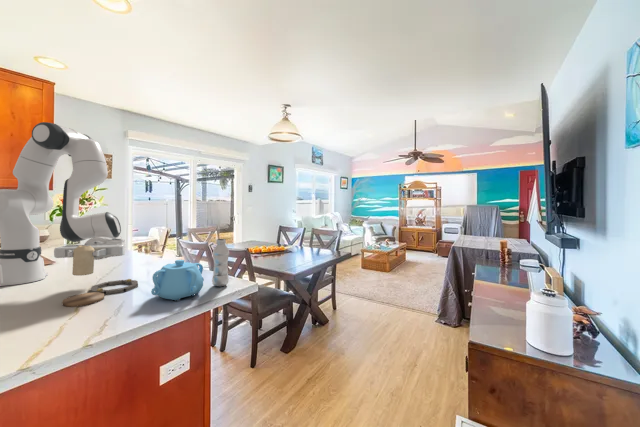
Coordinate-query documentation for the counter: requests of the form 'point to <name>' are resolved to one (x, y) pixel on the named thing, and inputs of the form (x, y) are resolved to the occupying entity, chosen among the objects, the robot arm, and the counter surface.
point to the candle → (83, 260)
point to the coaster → (83, 299)
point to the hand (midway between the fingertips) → (82, 254)
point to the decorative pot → (178, 280)
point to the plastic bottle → (220, 263)
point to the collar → (100, 286)
